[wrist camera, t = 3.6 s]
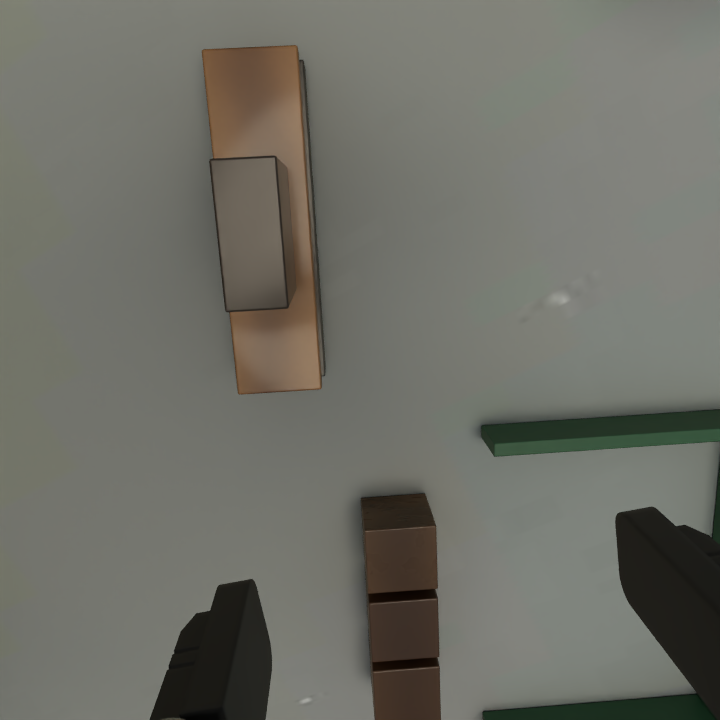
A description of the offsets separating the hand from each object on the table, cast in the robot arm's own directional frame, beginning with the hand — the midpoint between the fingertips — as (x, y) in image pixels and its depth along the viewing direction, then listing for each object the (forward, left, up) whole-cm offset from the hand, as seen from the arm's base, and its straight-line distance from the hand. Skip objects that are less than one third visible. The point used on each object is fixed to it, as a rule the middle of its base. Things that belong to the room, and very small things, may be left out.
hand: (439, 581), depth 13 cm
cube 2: (+1, -16, -23) cm, 28 cm away
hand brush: (-5, +7, -23) cm, 24 cm away
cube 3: (+1, -11, -23) cm, 25 cm away
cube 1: (+1, -20, -23) cm, 30 cm away
